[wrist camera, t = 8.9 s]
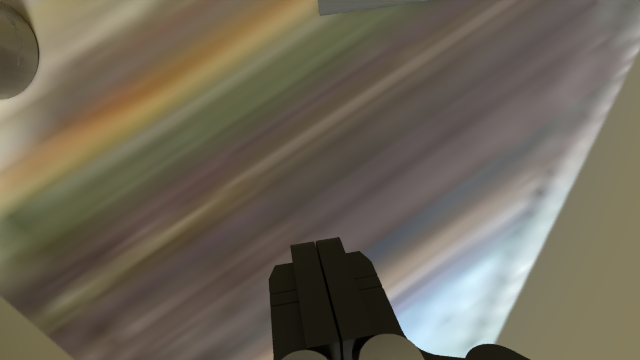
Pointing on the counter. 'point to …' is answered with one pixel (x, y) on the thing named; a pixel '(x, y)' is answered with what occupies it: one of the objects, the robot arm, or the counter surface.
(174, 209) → the counter surface
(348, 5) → the rubber mat
